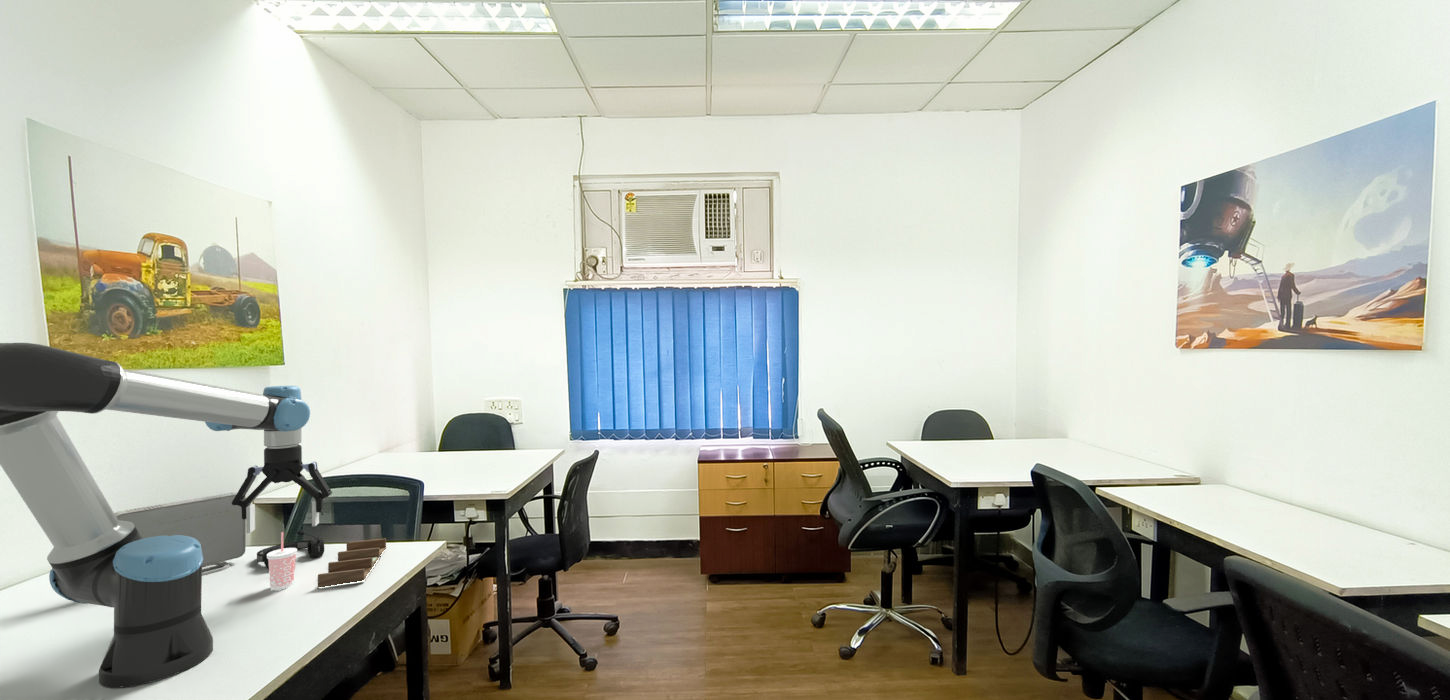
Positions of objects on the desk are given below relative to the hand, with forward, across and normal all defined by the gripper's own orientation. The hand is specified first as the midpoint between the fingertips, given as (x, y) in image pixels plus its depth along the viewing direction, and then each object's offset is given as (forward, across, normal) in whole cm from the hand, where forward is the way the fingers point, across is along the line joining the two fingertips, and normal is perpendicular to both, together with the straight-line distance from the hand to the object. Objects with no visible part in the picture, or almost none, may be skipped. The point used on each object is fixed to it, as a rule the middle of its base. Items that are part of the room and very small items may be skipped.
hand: (283, 528), depth 139 cm
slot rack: (+15, -14, -8) cm, 22 cm away
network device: (+15, +28, -18) cm, 37 cm away
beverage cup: (+15, 0, 0) cm, 15 cm away
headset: (+16, +6, -22) cm, 28 cm away
